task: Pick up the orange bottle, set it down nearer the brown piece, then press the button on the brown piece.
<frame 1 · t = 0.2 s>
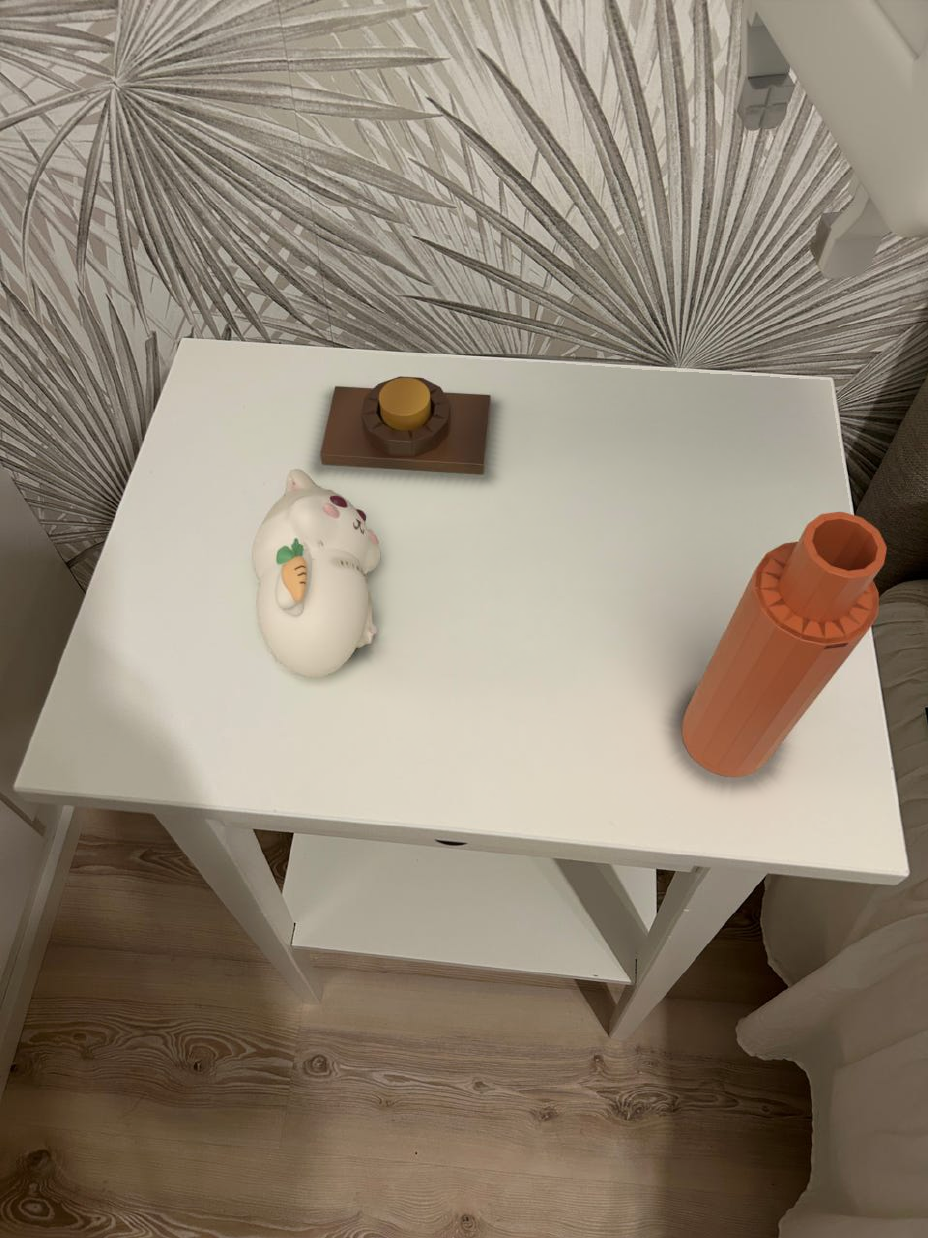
hand: (793, 188, 36), 33 cm above the table, tool pointing down, fingers open, 8 cm apart
cat figurine: (322, 602, 65), on the table
button: (405, 404, 70), point 3 cm above the table, slide at 0.1 cm
brown piece: (408, 434, 73), on the table
orange bottle: (726, 734, 59), on the table
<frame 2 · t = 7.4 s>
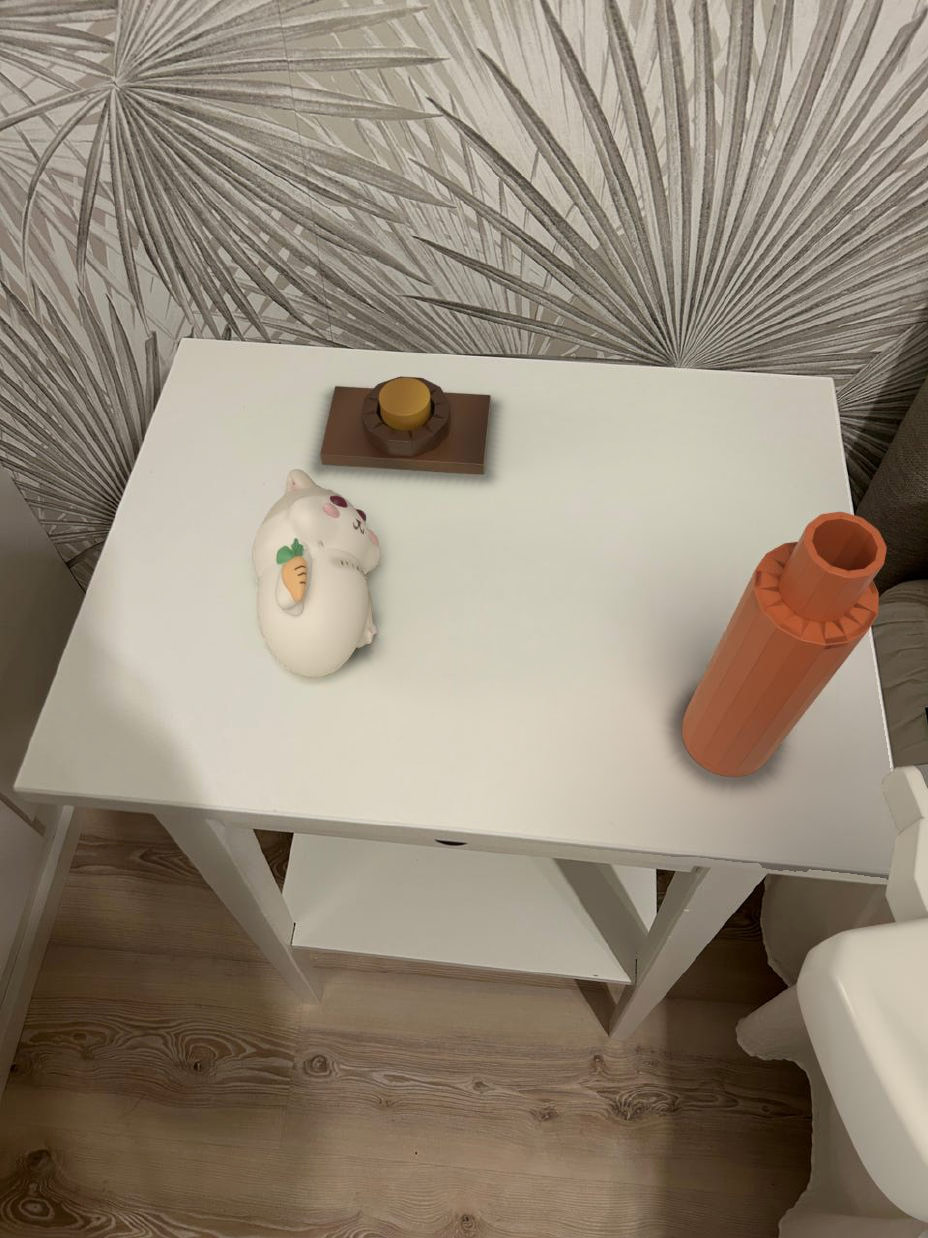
nothing on the table moved.
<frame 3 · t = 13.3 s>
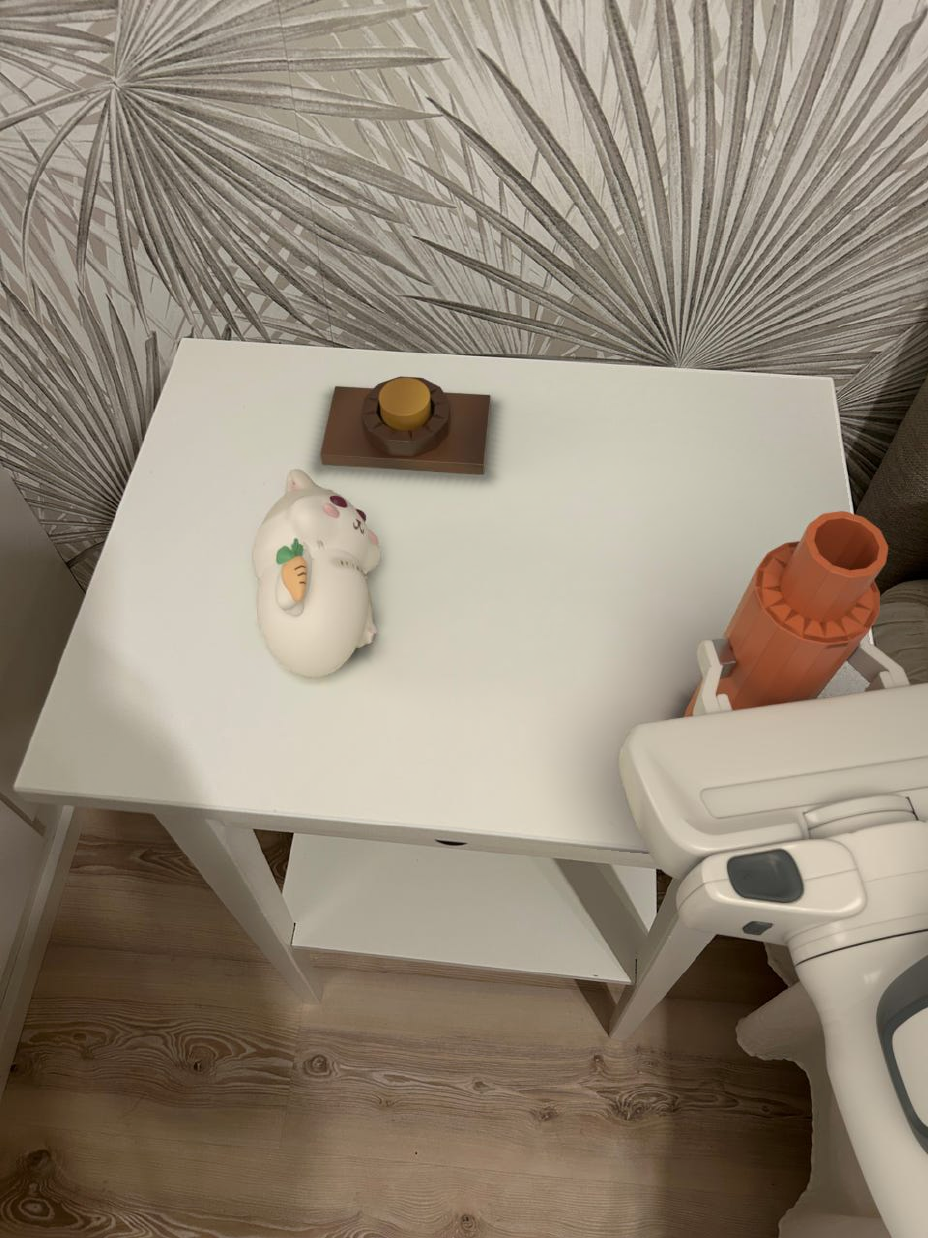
hand: (774, 634, 50), 12 cm above the table, tool horizontal, fingers closed on orange bottle, 6 cm apart
orange bottle: (726, 734, 59), on the table, touching gripper
everything else where it was.
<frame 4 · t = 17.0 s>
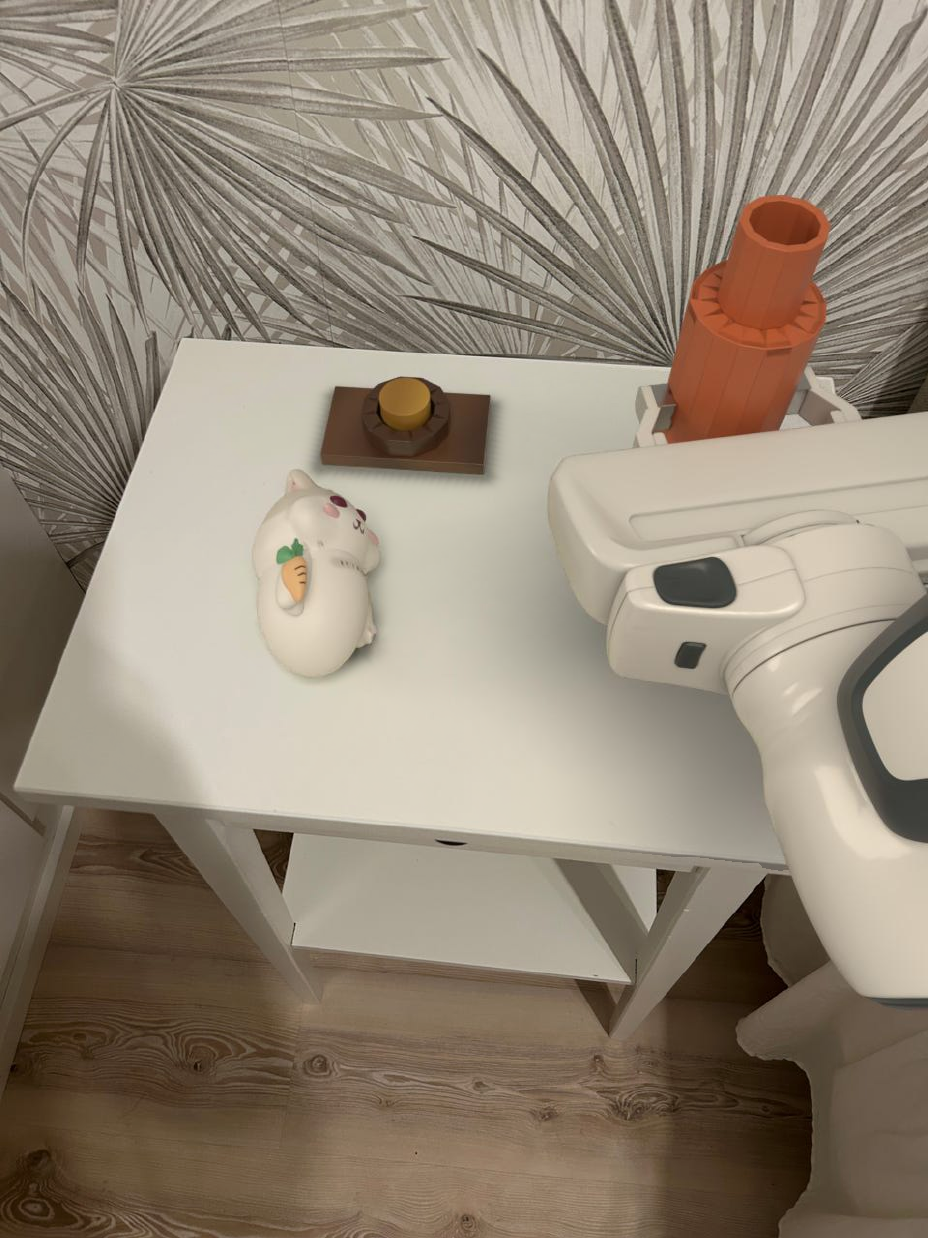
hand: (719, 384, 46), 22 cm above the table, tool horizontal, fingers closed on orange bottle, 6 cm apart
orange bottle: (678, 536, 56), point 10 cm above the table, touching gripper
everything else where it was.
when the fingers open (12 cm above the table, at t = 20.9 s): orange bottle stays where it is, on the table.
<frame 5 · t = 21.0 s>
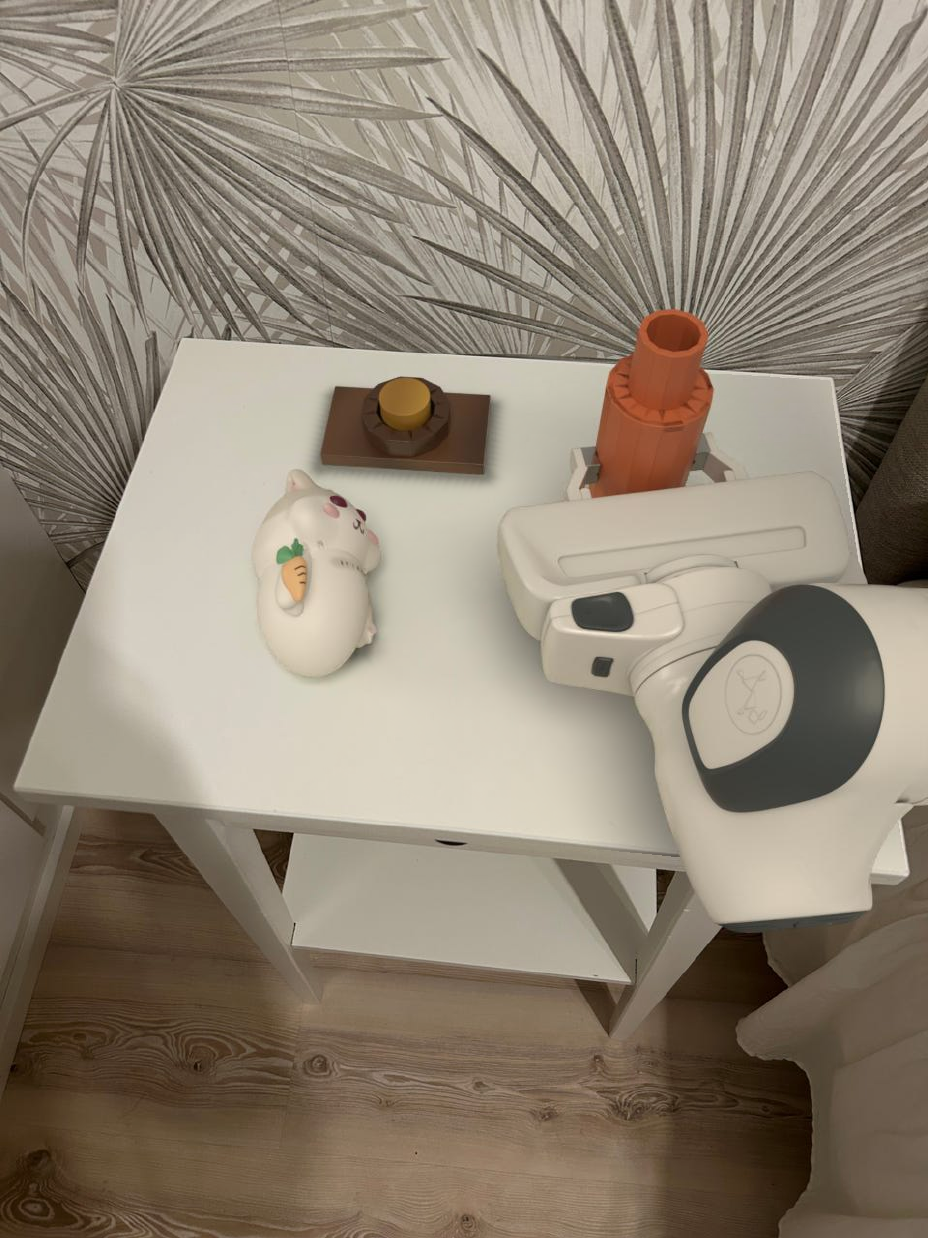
hand: (639, 446, 57), 12 cm above the table, tool horizontal, fingers open, 6 cm apart
orange bottle: (616, 563, 66), on the table
everything else where it was.
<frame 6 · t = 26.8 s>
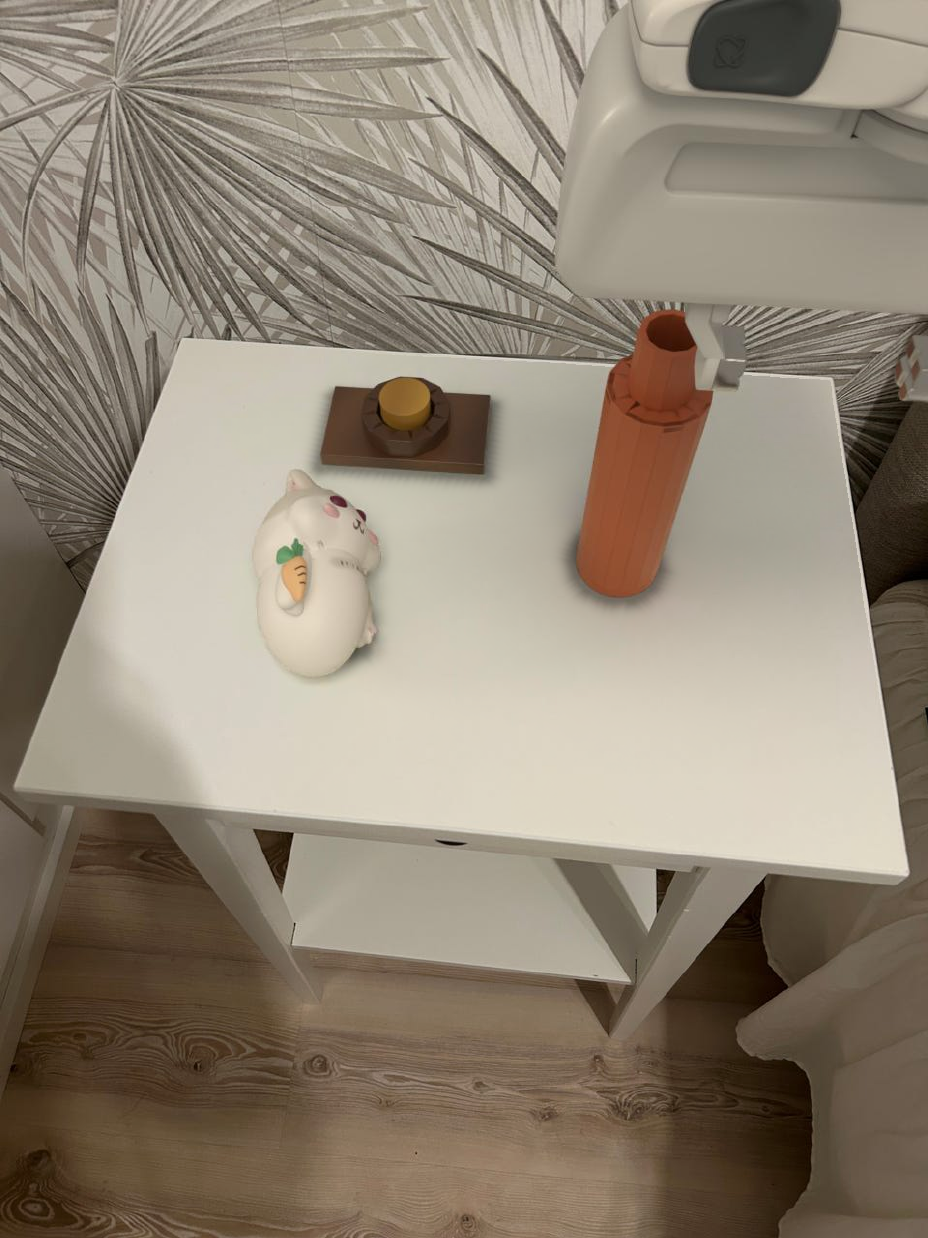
hand: (814, 384, 33), 31 cm above the table, tool pointing down, fingers open, 6 cm apart
nothing on the table moved.
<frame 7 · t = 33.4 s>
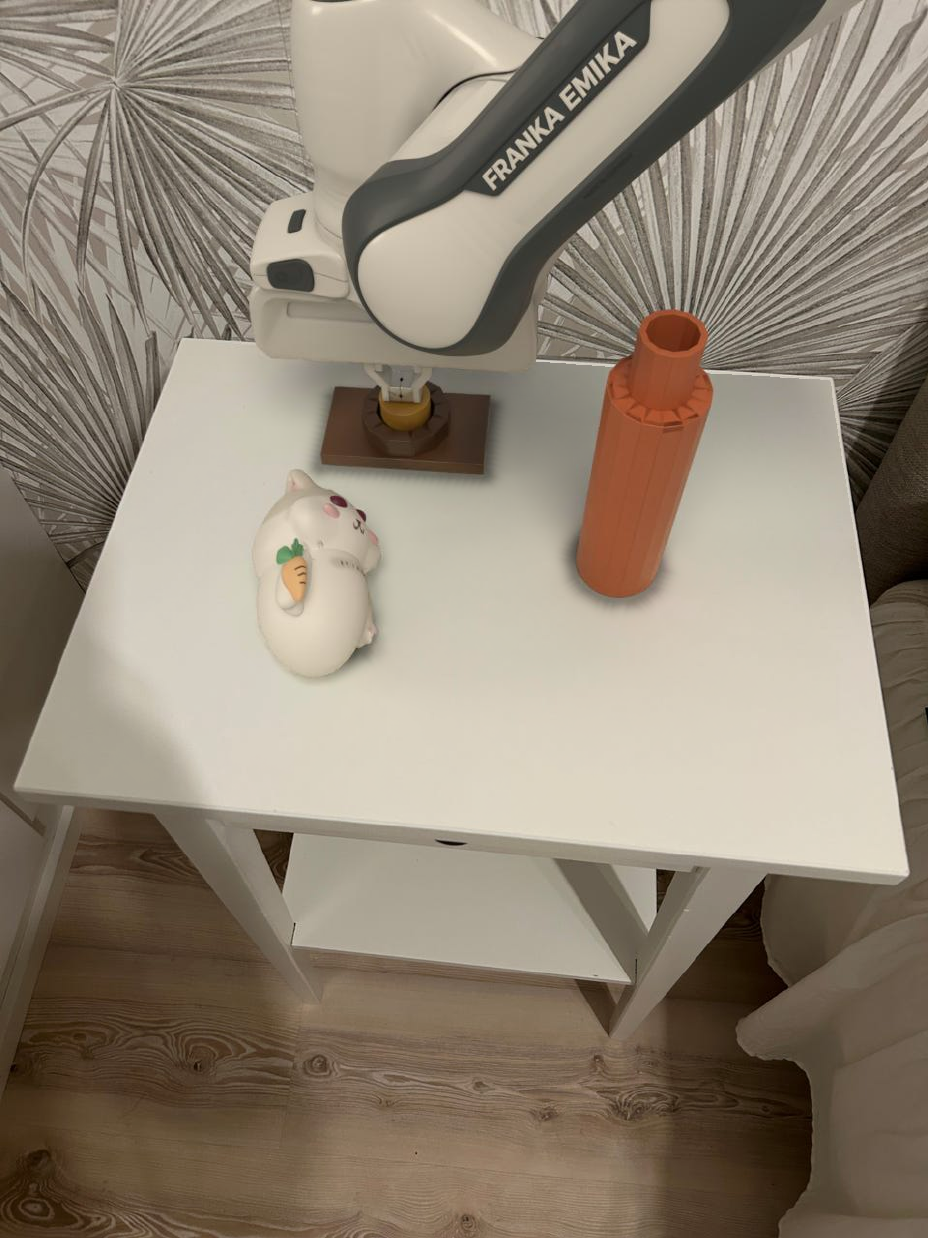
hand: (403, 396, 69), 4 cm above the table, tool pointing down, fingers closed, pressing on button
button: (405, 404, 70), point 3 cm above the table, slide at 0.1 cm, touching gripper
everything else where it was.
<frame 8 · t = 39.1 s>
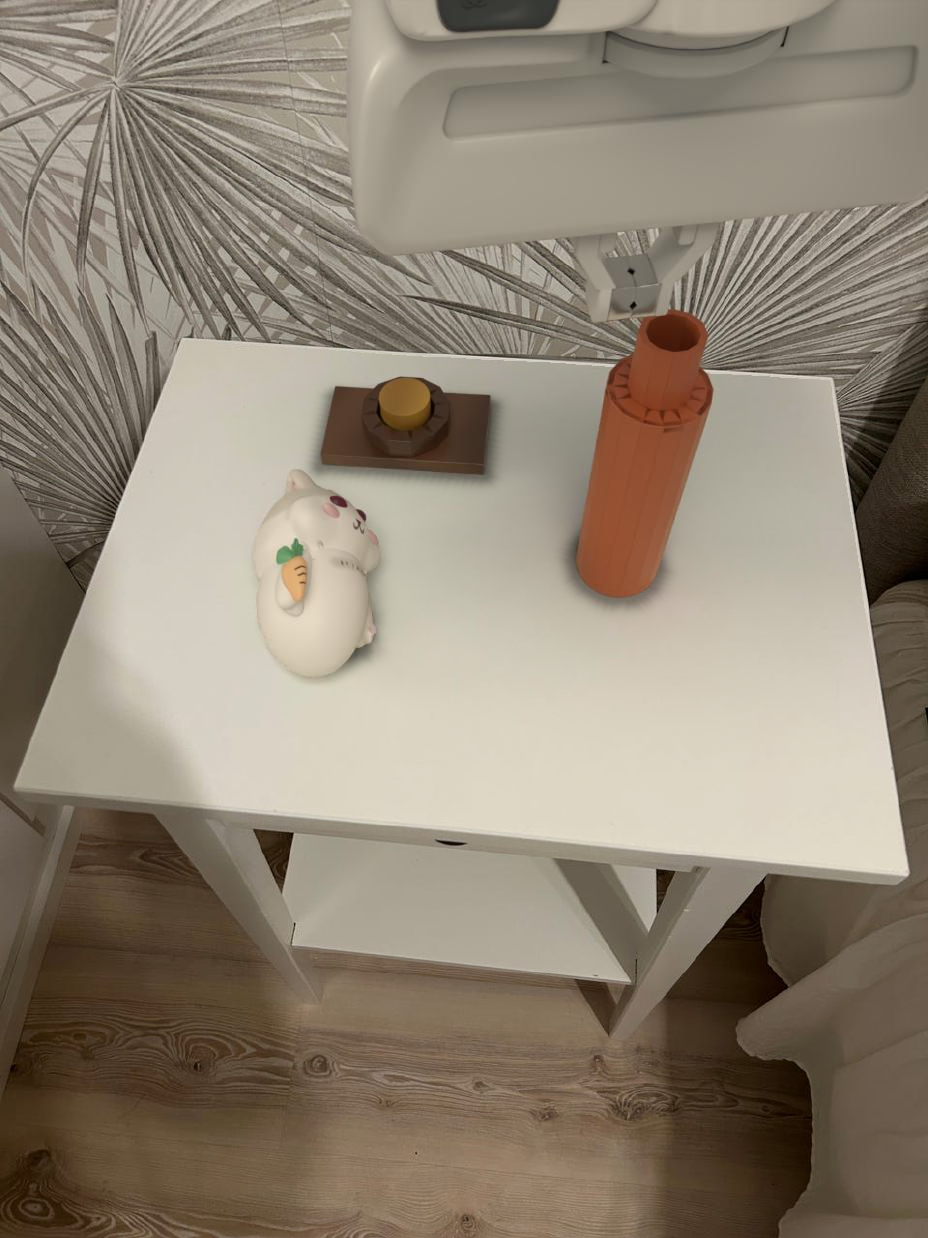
hand: (624, 308, 35), 31 cm above the table, tool pointing down, fingers closed
button: (405, 404, 70), point 3 cm above the table, slide at 0.1 cm
everything else where it was.
at the end: orange bottle inside the target area (0.1 cm from its centre), on the table; button pushed in 1.0 cm at the most during the clip, back to where it started at the end; button slide at 0.1 cm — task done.
